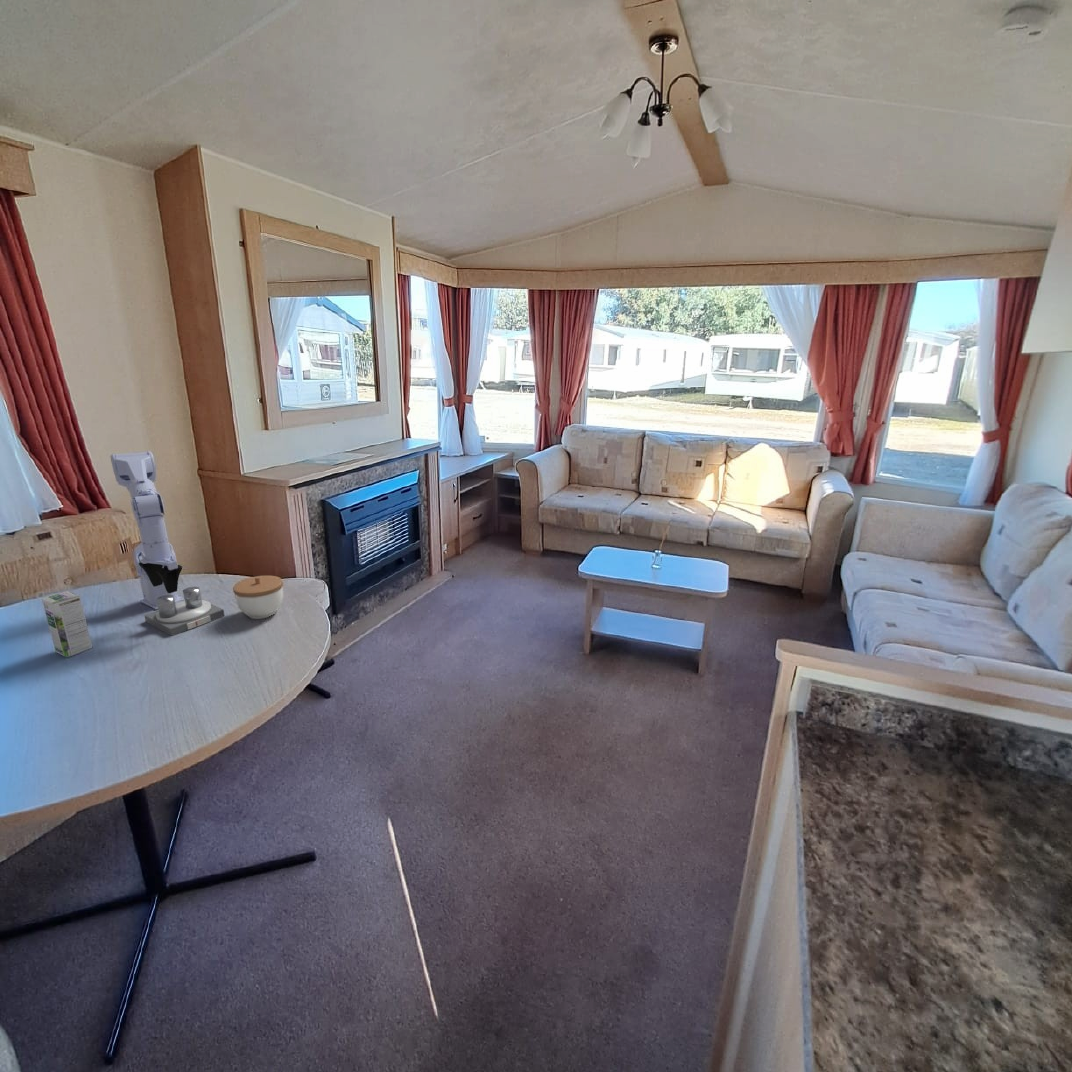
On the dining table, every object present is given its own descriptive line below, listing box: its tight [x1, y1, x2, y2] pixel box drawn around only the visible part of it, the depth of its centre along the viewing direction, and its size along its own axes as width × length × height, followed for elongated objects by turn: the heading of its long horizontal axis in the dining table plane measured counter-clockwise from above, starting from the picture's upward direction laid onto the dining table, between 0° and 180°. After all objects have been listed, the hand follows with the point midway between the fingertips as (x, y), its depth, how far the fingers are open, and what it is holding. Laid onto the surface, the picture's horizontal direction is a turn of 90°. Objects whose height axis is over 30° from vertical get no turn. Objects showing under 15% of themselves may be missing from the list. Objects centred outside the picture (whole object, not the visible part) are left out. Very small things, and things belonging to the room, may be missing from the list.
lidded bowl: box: [232, 575, 284, 620], centre depth 159 cm, size 13×13×11 cm
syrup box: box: [41, 590, 93, 658], centre depth 138 cm, size 6×6×14 cm
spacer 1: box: [156, 595, 177, 618], centre depth 152 cm, size 4×4×5 cm
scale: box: [143, 599, 225, 637], centre depth 156 cm, size 15×14×3 cm
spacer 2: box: [182, 586, 203, 609], centre depth 157 cm, size 4×4×5 cm
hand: (165, 588), depth 150 cm, fingers open, 7 cm apart
